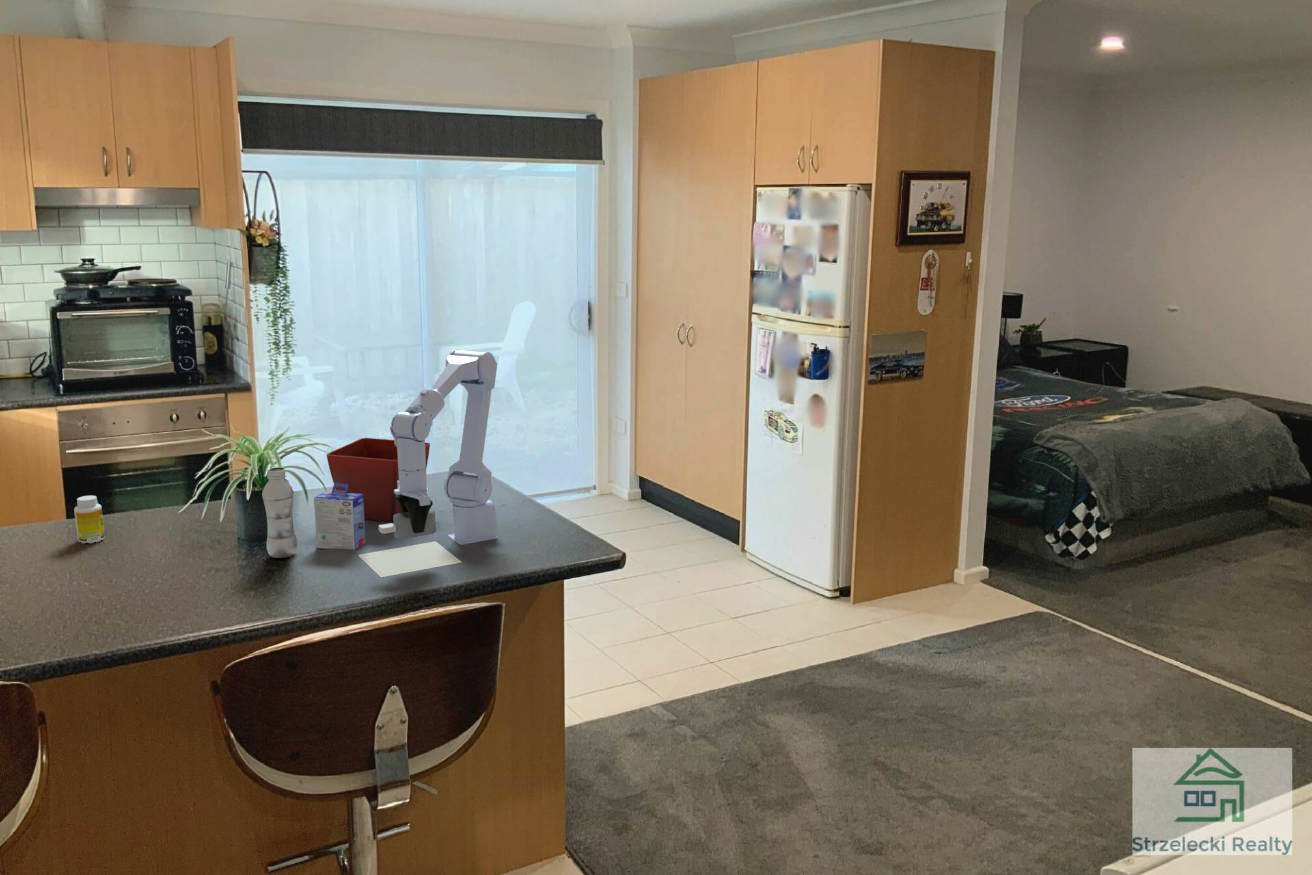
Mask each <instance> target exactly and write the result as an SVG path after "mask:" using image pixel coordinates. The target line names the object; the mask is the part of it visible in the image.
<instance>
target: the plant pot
mask: <svg viewBox="0 0 1312 875" xmlns="http://www.w3.org/2000/svg"><path fill="white" fill-rule="evenodd" d="M430 447H431V444H430V442H425V456H426V469H427V468H428V461H429V455H430ZM326 459H327V464H328V469H329V472H330V476H331V479H332V482H333V484H334V483H339V484H348V491H347V493H353V494H363V501H364V520H370V521H371V520H372V521H379V522H381V521H382V522H394V521H393V516H394V515H395V514H398V513H402V511H401V508H400V505H399V503H398V502H397V500H396V498H395V495H396V494H395V493H394V490H395V489H398V485H397V481H399V472H398V452H397V447H396V446H395V443H394V439H387V438H372V437H363V438H358V439H357V440H355V441H353V442H350V443H348V444H346V445H343V446H341V447H339V448H337V449H335V450H332V451H330V452H328V453H326ZM335 490H343V491H344V490H345V488H343V487H336V488H335Z"/></svg>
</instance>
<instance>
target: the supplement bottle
mask: <svg viewBox="0 0 1312 875" xmlns="http://www.w3.org/2000/svg"><path fill="white" fill-rule="evenodd" d="M76 503H77V506H75V507H74V509H73V510H74V519H75V521H74V522H75V528H76V536H77V541H78V542H79V543H80V542H81V543H80V544H85V543H89V544H95V543H94V542H96V543H98V542H101V540H102V541H103V540H104V539H105V537H106V533H105V525H104V516H103V508H102V505H101V504H99V503H98V498H97V496H96V495H83V496H80V497H78V498H76Z"/></svg>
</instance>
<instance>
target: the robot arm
mask: <svg viewBox="0 0 1312 875" xmlns="http://www.w3.org/2000/svg"><path fill="white" fill-rule="evenodd" d="M494 356H495V355H493V353H492V352H490V351H485V352H483V351H472V350H463V349H462V350H460V349H456V348H455V349H453V350H451V352H449V355H448V356H447V357H445V368H444V369H443V371H442V372H441V374H440V375H439V376H438V378H437V379H436V381H435V382H434V384H433V385H432V387H431V388H425V389H421V391H420V392H419V394H418V395H417V397H416V398H415V399H414V400H413V401H412V402H411V403H410V404H409V406H407V408H406V409H405V410H404V411H399V412H398V413H396V414H395V415H393V417H392V419H391V423H390V427H389V431H390V434H391V436H392V437H393V440H394V443H395V446H396V447H397V452H398V472H399V481H397V485H398V489H395V490H394V493H395V494H396V495H395V498H396V500H397V502H398V503H399V505H400V508H401V511H402V513H404V512H409V515H410V519H411V524H412V529H413V532H414V533H421V532H424V529H425V524H426V519H427V515H428V513H429V510H430V509H431V508H432V506H433V502H434V501H433V500H432V499H431V496H430V495H429V488H428V485H427V480H428V478H427V468H426V456H425V443H426V441H425V440H426V439H427V438H428V437H429V435H430V432H431V428H432V426H433V423H434V420H435V418H436V417H438V415H439V414H440V413H441V411H442V410H443V409H444V408H445V398H446V397H447V396H448V395H449V394H450V393H451V392H452V391H453V390H454V389H455V388H456V387H457V386H458V385H460V386H462V387H464V389H465V390H466V392H467V398H466V399H467V400H466V406H465V415H464V423H463V429H462V436H461V443H460V444H461V445H460V453H459V459H458V460H457V461H456V462H455V463H453V464H452V465H451V466H449V468H448V474H447V476H446V479H445V481H444V484H443V485H444V486H443V487H444V494H445V495H446V498H448V499H449V503H450V504H452V512H453V514H452V515H453V517H452V518H453V533H452V534H448V535H447V536H448V537H449V538H450V539H452V540H453V541H454V542H456V543H457V544H459V545H467V544H471V543H478V542H479V543H480V542H484V541H490V540H495V539H496V540H497V539H499V537H498V536H497V535H498V534H497V533H498V532H497V510H496V506H495V503H494V502H493V501H492V500H491V499H490V498H491V497H492V493H493V484H492V475H493V474H492V471H491V470H490V469H489V468H488V467H487V466H486V465H485V464H484V463H483V460H484V451H485V444H486V435H487V427H488V422H489V420H488V419H489V412H490V406H491V398H492V390H493V389H494V388H495V385H496V380H497V378H496V377H497V372H498V371H497V370H498V362H497V360H496V359H495V357H494ZM465 473H466V474H465ZM467 473H469V474H467ZM472 474H473V475H472Z"/></svg>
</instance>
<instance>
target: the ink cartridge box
mask: <svg viewBox="0 0 1312 875" xmlns="http://www.w3.org/2000/svg"><path fill="white" fill-rule="evenodd" d="M336 487H343V488H345V490H344V491H343V490H336V489H335V488H336ZM347 491H348V484H339V483H333V486H332V491H331V492H329V491H328V492H327V491H324V492H322V493H320V494H318V495H316V496H315V497H313V504H314V506H313V507H314V525H315V527H314V528H315V541H316V542H315V543H316V544H315V546H316V548H317V549H322V550H323V549H324V550H333V549H343V550H357V549H358V548H360V547H361V546H363V545H365V544H366V542H367V541H366V527H365V526H366V524H365V520H366V519H364V501H363V494H353V493H347Z"/></svg>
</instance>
